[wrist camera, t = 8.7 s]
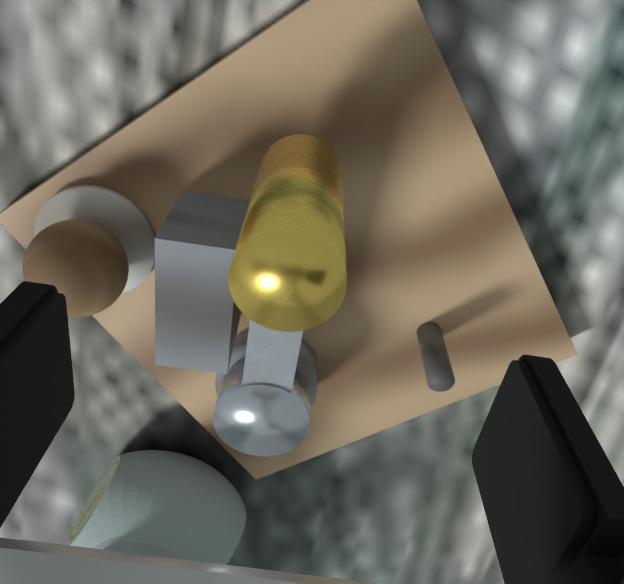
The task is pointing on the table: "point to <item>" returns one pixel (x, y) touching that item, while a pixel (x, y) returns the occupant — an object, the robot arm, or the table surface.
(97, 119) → the table surface
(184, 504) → the air freshener
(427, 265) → the base
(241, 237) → the lever
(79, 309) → the walnut ball
